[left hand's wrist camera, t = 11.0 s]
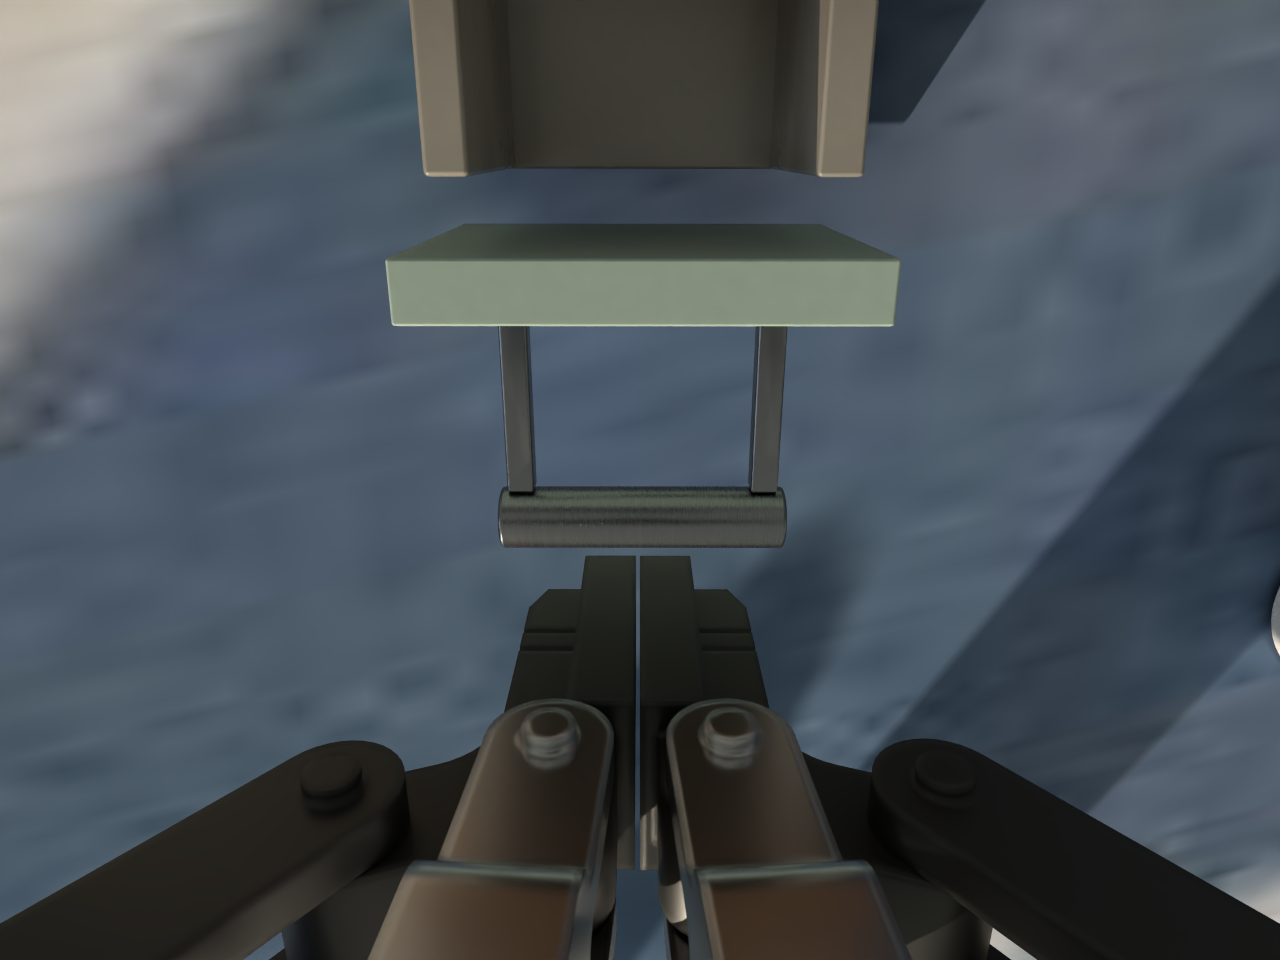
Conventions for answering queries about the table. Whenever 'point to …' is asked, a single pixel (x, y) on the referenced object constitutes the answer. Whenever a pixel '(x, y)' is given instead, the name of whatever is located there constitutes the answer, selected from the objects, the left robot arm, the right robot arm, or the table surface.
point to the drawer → (643, 253)
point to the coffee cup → (1276, 621)
